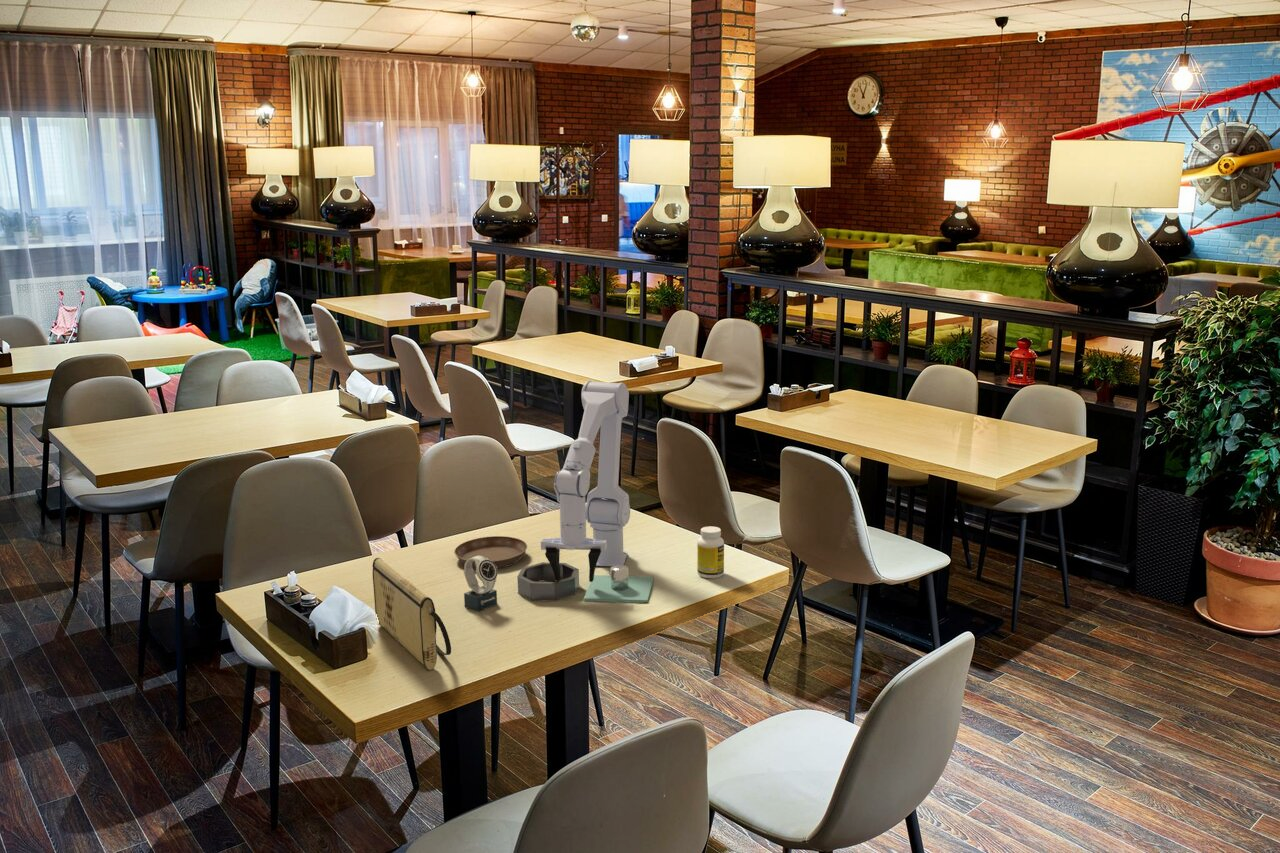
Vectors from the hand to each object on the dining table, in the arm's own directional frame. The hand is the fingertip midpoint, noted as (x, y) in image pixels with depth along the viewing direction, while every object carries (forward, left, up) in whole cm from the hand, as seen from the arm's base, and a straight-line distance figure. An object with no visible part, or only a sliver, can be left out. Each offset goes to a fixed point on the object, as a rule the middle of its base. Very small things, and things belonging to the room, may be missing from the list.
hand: (574, 579), depth 239 cm
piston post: (-1, +10, -3) cm, 10 cm away
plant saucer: (-19, -24, -3) cm, 31 cm away
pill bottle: (-12, +30, -3) cm, 32 cm away
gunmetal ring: (0, -6, -3) cm, 7 cm away
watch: (+10, -19, -3) cm, 22 cm away
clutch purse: (+30, -27, -3) cm, 41 cm away
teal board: (-1, +10, -3) cm, 10 cm away
